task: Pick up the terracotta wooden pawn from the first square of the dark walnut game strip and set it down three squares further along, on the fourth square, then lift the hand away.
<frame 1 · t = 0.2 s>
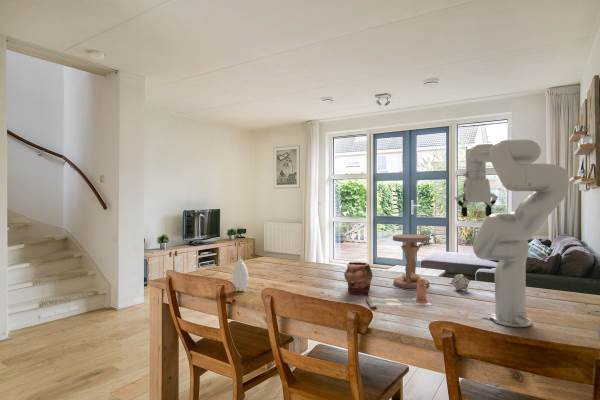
hand: (476, 216, 151), 36 cm above the table, tool pointing down, fingers open, 9 cm apart
decorative planter: (359, 292, 171), on the table
game die: (460, 290, 170), on the table
wooden pedestal stand: (411, 285, 183), on the table
board: (399, 304, 150), on the table
pawn: (421, 301, 149), point 1 cm above the table, touching board
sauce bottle: (240, 291, 176), on the table
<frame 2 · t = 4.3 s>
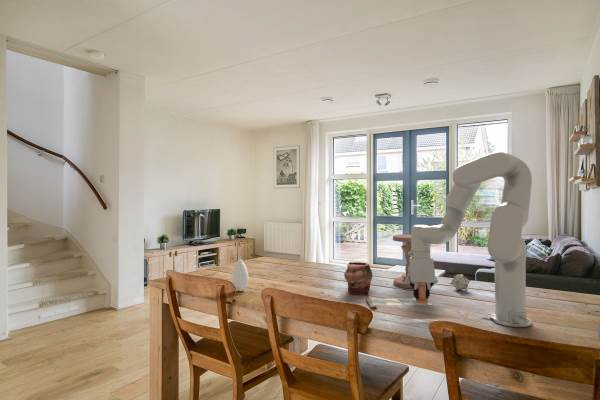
hand: (421, 297, 149), 3 cm above the table, tool pointing down, fingers closed on pawn, 3 cm apart
pawn: (421, 301, 149), point 1 cm above the table, touching board, gripper
everything else where it was.
when the fingers open (4 cm above the table, at t = 10.7 s): pawn drops 1 cm, resting on board.
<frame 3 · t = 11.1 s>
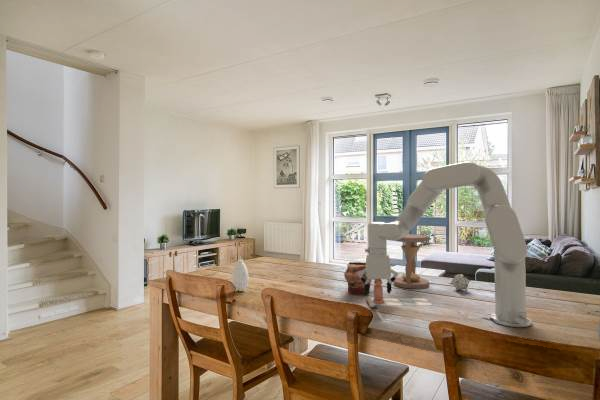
hand: (378, 292, 150), 5 cm above the table, tool pointing down, fingers open, 8 cm apart
pawn: (378, 301, 150), point 1 cm above the table, touching board
everything else where it was.
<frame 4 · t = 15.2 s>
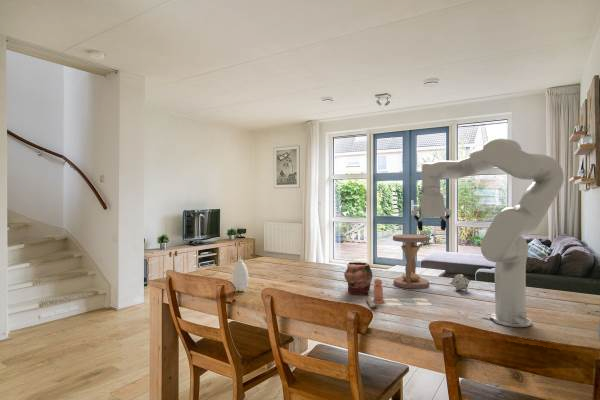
hand: (431, 230, 156), 30 cm above the table, tool pointing down, fingers open, 9 cm apart
nothing on the table moved.
at the end: pawn 0.1 cm from the target spot on the board, point 1.2 cm above the board's base; pawn tilted 0°; the gripper is holding nothing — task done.
